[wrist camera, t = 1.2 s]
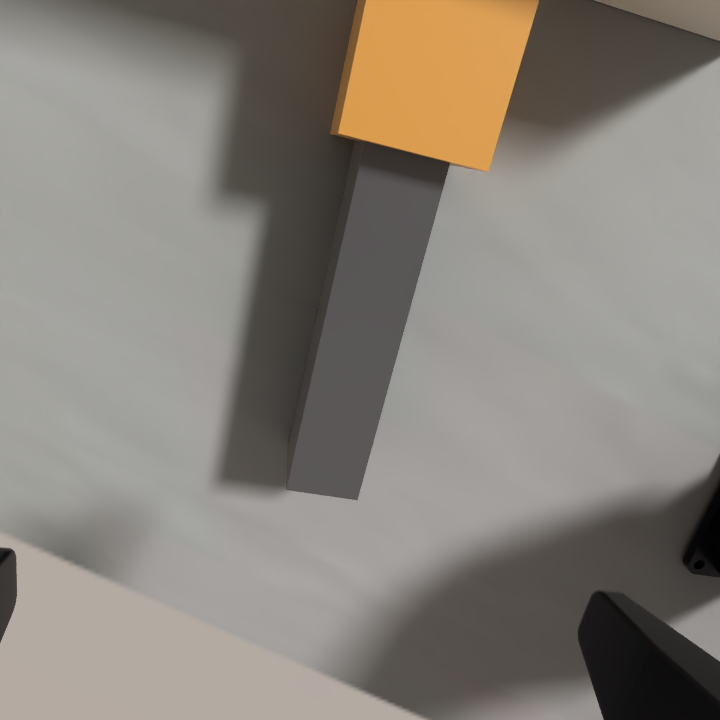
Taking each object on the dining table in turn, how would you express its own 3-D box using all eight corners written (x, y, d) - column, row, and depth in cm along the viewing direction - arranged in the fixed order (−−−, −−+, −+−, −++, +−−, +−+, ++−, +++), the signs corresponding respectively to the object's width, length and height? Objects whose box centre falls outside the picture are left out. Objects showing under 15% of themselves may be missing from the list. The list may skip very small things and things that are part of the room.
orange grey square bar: (370, 457, 22) (384, 521, 19) (266, 441, 22) (260, 504, 18) (488, 28, 17) (539, -1, 14) (359, -11, 17) (377, -53, 13)
